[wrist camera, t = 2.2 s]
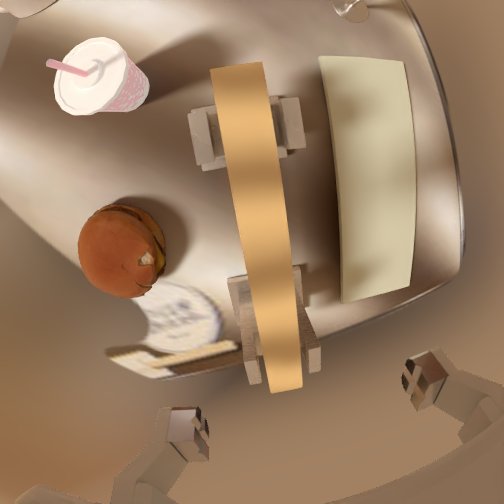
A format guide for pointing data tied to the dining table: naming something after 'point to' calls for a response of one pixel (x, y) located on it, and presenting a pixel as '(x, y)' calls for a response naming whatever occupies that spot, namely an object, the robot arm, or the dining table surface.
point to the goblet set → (351, 10)
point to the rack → (213, 157)
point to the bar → (260, 215)
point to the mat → (372, 172)
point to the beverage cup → (98, 79)
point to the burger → (122, 250)
